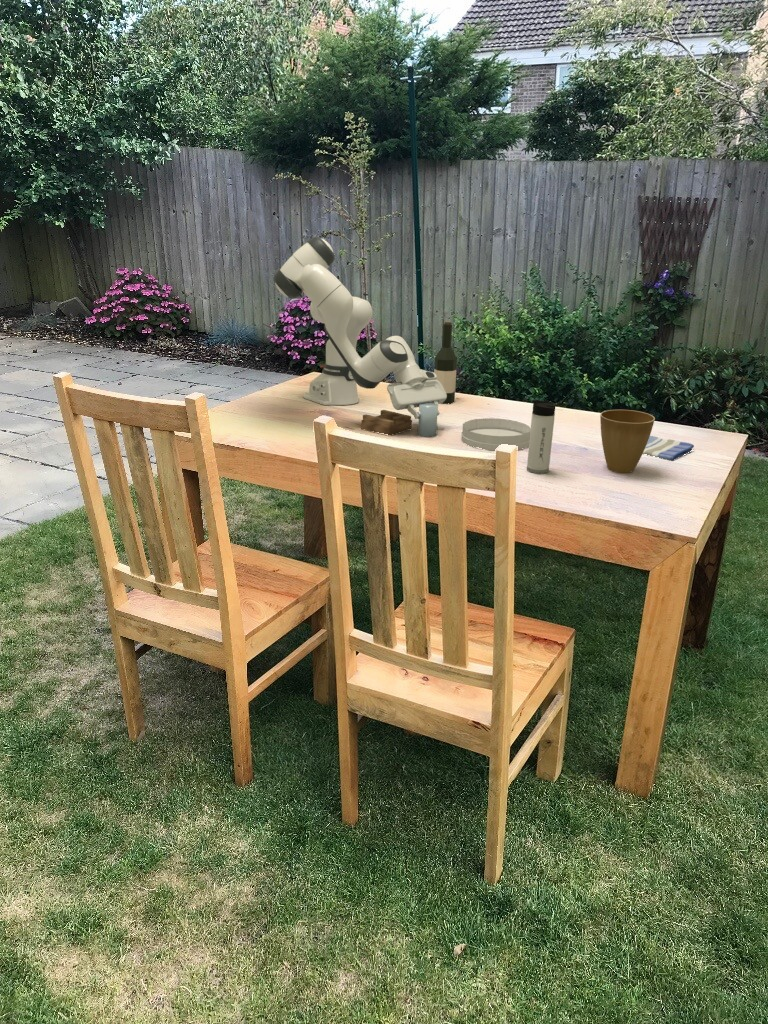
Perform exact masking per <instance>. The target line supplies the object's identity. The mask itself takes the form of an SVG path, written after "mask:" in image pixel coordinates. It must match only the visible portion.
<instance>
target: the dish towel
mask: <svg viewBox="0 0 768 1024" xmlns="http://www.w3.org/2000/svg"><path fill="white" fill-rule="evenodd" d="M694 447H695V446H694V444H693V443H691V442H686V441H680V440H674V439H671V438H669V439H667V438H665V439H664V438H660V437H658V436H655V435H654V436H653V435H650V437H649V439H648V442H647V445H646V447H645V449H644V452H643V454H642V455H644V454H647V455H646V456H648V455H650V456H649V457H653V456H655V457H654V458H657V457H659V458H658V459H662V458H663V460H666V459H667V461H674V459H675V460H677V459H679V458H681V457H680V456H682V457H684V456H685V455H684V454H686V453H688V452H690V451H691V450H692V449H694ZM690 453H691V452H690ZM688 454H689V453H688ZM683 455H684V456H683ZM686 455H687V454H686ZM678 457H679V458H678ZM676 458H677V459H676Z"/></svg>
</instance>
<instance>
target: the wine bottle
mask: <svg viewBox="0 0 768 1024" xmlns="http://www.w3.org/2000/svg"><path fill="white" fill-rule="evenodd" d="M452 333H453V324H452V322H451V321H444V322H443V324H442V336H441V337H442V338H441V339H442V340H441V341H442V343H441V348H440V349H439V351H438V352H437V354H436V355H435V357H434V365H433V366H434V371H433V372H434V373H435V374H436V375H437V378H436V380H438V381H439V382H440V383H441V384H442V386H443V388H444V390H445V392H446V394H447V398H446V400H445V401H444V402H443V403H442V404H441V405H449V404H448V403H452V404H453V402H454V403H455V400H456V399H455V398H456V384H457V383H456V382H457V381H456V379H457V365H458V364H457V363H458V358H457V356H456V354H455V352H454V350H453V348H452V337H453V336H452Z"/></svg>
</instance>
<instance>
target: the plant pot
mask: <svg viewBox="0 0 768 1024" xmlns="http://www.w3.org/2000/svg"><path fill="white" fill-rule="evenodd" d="M599 416H600V417H599V418H600V436H601V444H602V449H603V455H604V459H605V464H606V467H607V469H608V470H609V471H611V472H614V473H619V474H628V473H629V474H630V473H633V472H634V471H635V469H636V467H637V465H638V464H639V462H640V460H641V458H642V456H643V455H644V454H643V452H644V449H645V447H646V445H647V442H648V439H649V437H650V436H651V434H652V429H653V427H654V424H655V420H656V417H655V416H653V415H652V414H650V413H647V412H643V411H639V410H632V409H631V410H630V409H610V410H604V411H602V412H600V414H599Z"/></svg>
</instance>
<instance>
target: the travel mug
mask: <svg viewBox="0 0 768 1024" xmlns="http://www.w3.org/2000/svg"><path fill="white" fill-rule="evenodd" d="M531 403H532V404H533V405H532V413H531V422H530V428H531V430H530V441H529V446H528V452H527V462H526V463H527V465H526V470H527V471H528V472H529V473H533V474H539V475H540V474H546V473H548V472H549V471H550V465H551V464H550V463H551V456H552V455H551V454H552V444H553V434H554V427H555V425H554V424H555V417H556V404H554V403H552V402H550V401H547V400H538V399H534V400H532V402H531Z"/></svg>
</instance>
